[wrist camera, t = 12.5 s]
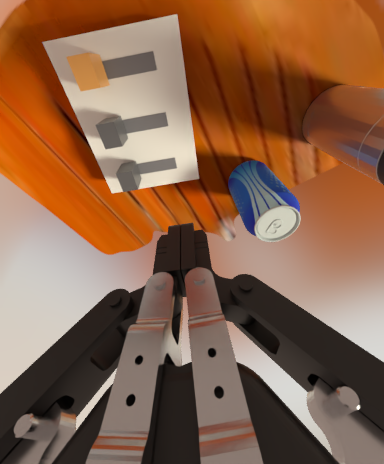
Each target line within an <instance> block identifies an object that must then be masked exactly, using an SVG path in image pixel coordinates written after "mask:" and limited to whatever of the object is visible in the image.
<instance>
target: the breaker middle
mask: <svg viewBox="0 0 384 464" xmlns="http://www.w3.org/2000/svg"><path fill="white" fill-rule="evenodd" d="M95 126H96V128H97V130H98V133H99V135H100V138H101V140H102V142H103V145H104V147H105V149H111V148H117V147H122V146H123V145H124V144H125V142H126V141H127V139H128V136H127V133H126V130H125V127H124V124H123V121H122V118H121V116H117V117H112V118H106V119H103V120H102V121H100V122H99V123H98V124H96V125H95Z"/></svg>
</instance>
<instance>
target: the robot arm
mask: <svg viewBox="0 0 384 464" xmlns="http://www.w3.org/2000/svg"><path fill="white" fill-rule="evenodd" d="M302 131H303V135H304V138H305V139H306V141H307V142H309V143H310V144H312V145H314V146H315V147H317V148H319V149H321V150H322V151H324V152H326V153H328V154H329V155H331V156H333V157H335V158H337V159H338V160H340V161H342V162H344V163H346V164H347V165H349V166H351V167H353V168H354V169H356V170H358V171H360V172H362V173H363V174H365V175H367V176H369V177H371V178H373V179H374V180H376V181H378V182H380V183H382V184H383V185H384V89H380V88H370V87H361V86H350V85H337V86H334V87H331V88H329V89H327V90H326V91H324V92H322V93H321V94H320V95H319V96H318V97H317V98H316V99H315V100H314V101H313V102H312V104H311V105H310V107H309V108H308V110H307V112H306V114H305V116H304V120H303V125H302ZM183 297H187V305H188V315H189V320H188V329H189V338H190V349H191V358H192V362H190V363H188V364H185V365H183V366H182V356H181V335H182V320H183ZM225 320H226V321H230V322H233V323H234V325H235V326H236V327H237V328H239V329H240V330H241V331H242V332H243V333H244V334H245V335H246V336H247V337H248V338H249V339H250V340H252V341H253V342H254V343H255V344H256V345H257V346H258V347H259V348H260V349H261V350H262V351H264V352H265V353H266V354H267V355H268V356H269V357H270V358H271V359H272V360H273V361H275V363H277V364H278V365H279V366H280V367H281V368H282V369H283V370H284V371H285V372H286V373H287V374H289V375H290V376H291V377H292V378H293V379H294V380H295V381H296V382H297V383H298V384H299V385H301V386H302V387H303V388H304V389H305V390H306V391H307V392H308V394H307V406H308V410H309V412H310V414H311V416H312V418H313V420H314V421H315V423H316V424H317V425H318V426H319V427H320V429H321V430H322V431H323V433H324V434H325V436H326V438H327V440H328V442H329V444H330V447H331V450H332V455H333V456H332V455H331V454H330V453H329V452H328V450H327V449H326V448H325V447H324V446H323V445H322V444H321V443H320V442H319V441H318V440H317V438H316V437H314V435H313V434H312V433H311V432H310V431H309V430H308V429H307V428H306V426H305V425H304V424H303V423H302V422H301V421H300V420H299V419H298V418H297V417H296V416H295V414H294V413H293V412H292V411H291V410H290V409H289V408H288V407H287V406H286V405H285V403H284V402H283V401H282V400H281V399H280V398H279V397H278V396H277V395H276V394H275V393H274V391H273V390H272V389H271V388H270V387H269V386H268V385H267V384H266V383H265V382H264V381H263V379H262V378H261V377H260V376H259V375H257V374H256V373H255V372H254V371H253V370H251V369H249V368H248V367H246V366H245V365H243V364H240V363H238V362H236V360H235V356H234V352H233V348H232V344H231V340H230V336H229V333H228V328H227V324H226V321H225ZM117 367H118V368H117ZM116 368H117V372H116V375H115V379H114V383H113V384H112V385H111V386H110V387H109V388H108V389H107V391H106V392H105V393H104V394H103V396H102V397H101V398H100V400H99V401H98V403H97V404H96V405H95V406H94V408H93V409H92V410H91V412H90V413H89V414H88V416H87V417H86V418H85V420H84V421H83V422H82V424H81V425H80V426H79V428H78V429H77V430H76V417H77V416H78V415H79V414H80V412H81V411H82V410H83V409H84V408H85V406H86V405H87V404H88V402H89V401H90V400H91V399H92V398H93V396H94V395H95V394H96V393H97V391H98V390H99V389H100V388H101V387H102V385H103V384H104V383H105V382H106V380H107V379H108V378H109V377H110V376H111V374H112V373H113V372H114V371H115V369H116ZM0 464H384V362H382V361H381V360H379V359H378V358H376V357H375V356H373V355H371V354H370V353H368V352H367V351H365V350H364V349H362V348H361V347H359V346H358V345H356V344H355V343H353V342H352V341H350V340H349V339H347V338H346V337H344V336H343V335H341V334H340V333H338V332H337V331H335V330H334V329H332V328H331V327H329V326H327V325H326V324H325V323H323V322H322V321H320V320H319V319H317V318H316V317H314V316H313V315H311V314H310V313H308V312H307V311H305V310H304V309H302V308H301V307H299V306H298V305H296V304H295V303H293V302H291V301H290V300H289V299H287V298H285V297H284V296H282V295H281V294H280V293H278V292H277V291H275V290H274V289H272V288H270V287H269V286H268V285H266V284H265V283H263V282H262V281H260V280H258V279H257V278H255V277H254V276H252V275H247V274H241V275H238V276H236V277H234V278H233V279H227V278H222V277H220V276H218V275H217V274H215V273H214V271H213V270H212V267H211V261H210V254H209V248H208V242H207V236H206V234H205V232H204V231H203V230H197V231H194V226H193V223H188V224H181V225H174V226H169V228H168V235H162V236H161V237H160V238H159V240H158V241H157V249H156V255H155V262H154V269H153V276H151V277H150V278H149V279H148V281H147V283H146V285H145V286H144V287H142V288H140V289H138V290H135V291H133V292H131V293H129V292H128V291H126V290H125V289H116V290H114V291H112V292H110V293H109V294H107V295H106V296H105V297H104V298H103V299H102V300H101V301H100V302H99V303H98V304H97V305H95V306H94V307H93V308H92V309H91V310H90V311H89V312H88V313H87V314H86V315H85V316H84V317H83V318H81V319H80V320H79V322H77V323H76V324H75V325H74V326H73V327H72V328H71V329H70V330H69V331H68V332H66V334H64V335H63V336H62V337H61V338H60V339H59V340H58V341H57V342H56V343H55V344H54V345H53V346H51V347H50V348H49V349H48V350H47V351H46V352H45V353H44V354H43V355H42V356H41V357H40V358H38V359H37V360H36V361H35V362H34V363H33V364H32V365H31V366H30V367H29V368H28V369H27V370H26V371H25V372H24V373H22V374H21V375H20V376H19V377H18V378H17V379H16V380H15V381H14V382H13V383H12V384H10V386H8V387H7V388H6V389H5V390H4V391H3V392H2V393H1V394H0Z"/></svg>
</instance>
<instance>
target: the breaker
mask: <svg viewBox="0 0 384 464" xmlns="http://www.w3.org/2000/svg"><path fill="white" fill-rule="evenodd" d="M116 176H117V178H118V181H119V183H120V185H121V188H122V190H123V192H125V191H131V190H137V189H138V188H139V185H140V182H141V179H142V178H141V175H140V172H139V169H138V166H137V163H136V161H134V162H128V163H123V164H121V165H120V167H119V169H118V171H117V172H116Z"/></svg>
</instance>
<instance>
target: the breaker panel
mask: <svg viewBox="0 0 384 464" xmlns="http://www.w3.org/2000/svg"><path fill="white" fill-rule="evenodd" d="M42 43H43V45H44V47H45V49H46V51H47V54H48V56H49V58H50V60H51V62H52V64H53V67H54V69H55V71H56V73H57V75H58V77H59V80H60V82H61V84H62V86H63V88H64V90H65V93H66V95H67V97H68V99H69V101H70V103H71V106H72V108H73V110H74V112H75V114H76V116H77V119H78V121H79V123H80V125H81V127H82V129H83V132H84V134H85V136H86V138H87V140H88V142H89V145H90V147H91V149H92V151H93V153H94V155H95V158H96V160H97V162H98V164H99V166H100V168H101V171H102V173H103V175H104V177H105V179H106V181H107V184H108V186H109V188H110V190H111V192H112V193H117V192H123V190H122V188H121V185H120V183H119V181H118V178H117V176H116V172H117V171H118V169H119V167H120V165H121V164H123V163H128V162H134V161H136V163H137V166H138V169H139V172H140V175H141V178H142V179H141V182H140V185H139V188H138V189H141V188H147V187H153V186H159V185H165V184H171V183H177V182H183V181H189V180H195V179H199V173H198V166H197V158H196V151H195V143H194V136H193V128H192V121H191V113H190V106H189V98H188V90H187V83H186V75H185V68H184V60H183V53H182V45H181V38H180V30H179V23H178V15H177V14H175V15H170V16H165V17H161V18H156V19H151V20H146V21H141V22H137V23H132V24H127V25H122V26H117V27H113V28H108V29H103V30H98V31H93V32H88V33H84V34H79V35H74V36H69V37H64V38H60V39H55V40H50V41H45V42H42ZM83 53H94V54H99V55H100V57H101V60H102V63H103V66H104V69H105V72H106V75H107V78H108V81H109V84H110V85H109V86H105V87H101V88H96V89H91V90H86V91H80V89H79V86H78V84H77V82H76V79H75V77H74V74H73V72H72V70H71V67H70V65H69V63H68V60H67V58H66V57H68V56H73V55H78V54H83ZM117 116H121V118H122V121H123V124H124V127H125V130H126V133H127V136H128V139H127V141H126V142H125V144H124V145H123V146H122V147H117V148H111V149H105V147H104V145H103V142H102V140H101V138H100V135H99V133H98V130H97V128H96V126H95V125H96V124H98V123H99V122H100V121H102V120H103V119H106V118H112V117H117Z"/></svg>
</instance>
